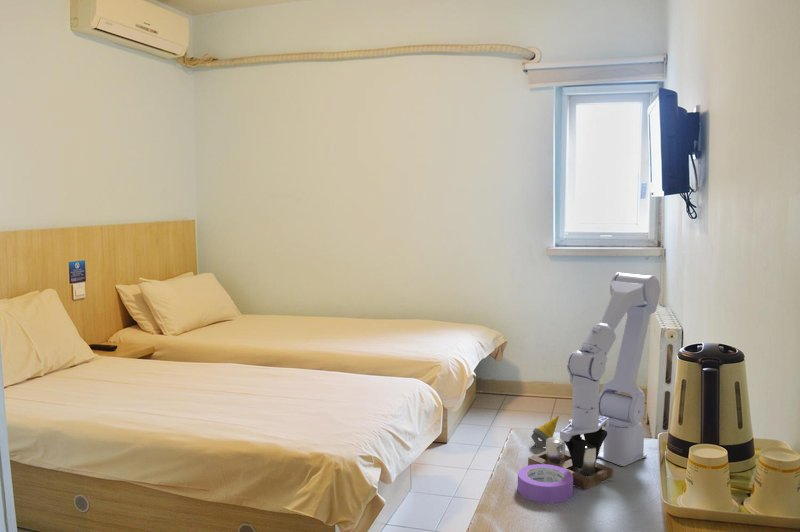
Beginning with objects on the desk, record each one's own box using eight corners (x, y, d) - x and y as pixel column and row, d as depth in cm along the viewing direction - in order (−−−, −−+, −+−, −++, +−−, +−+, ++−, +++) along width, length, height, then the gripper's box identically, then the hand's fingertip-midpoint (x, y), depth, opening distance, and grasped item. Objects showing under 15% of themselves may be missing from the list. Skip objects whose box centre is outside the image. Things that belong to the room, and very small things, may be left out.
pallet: (556, 454, 171) (556, 446, 171) (612, 477, 158) (612, 468, 158) (528, 465, 165) (528, 457, 165) (583, 489, 152) (584, 480, 152)
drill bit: (527, 443, 180) (551, 412, 182) (544, 456, 177) (568, 425, 179) (524, 437, 175) (548, 406, 177) (542, 450, 172) (566, 418, 174)
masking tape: (522, 476, 160) (522, 460, 159) (575, 483, 156) (576, 467, 155) (512, 499, 149) (513, 482, 148) (569, 507, 145) (569, 490, 144)
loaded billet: (554, 460, 168) (554, 435, 167) (569, 466, 164) (569, 441, 163) (541, 465, 165) (542, 440, 164) (556, 471, 162) (556, 446, 161)
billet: (583, 466, 161) (584, 441, 160) (599, 473, 157) (600, 447, 156) (570, 471, 158) (571, 445, 157) (586, 478, 155) (587, 452, 154)
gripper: (591, 393, 163) (590, 450, 165) (549, 407, 155) (548, 466, 157) (617, 401, 158) (616, 459, 160) (575, 416, 149) (574, 477, 151)
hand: (584, 463), depth 158 cm, fingers closed on billet, 4 cm apart
